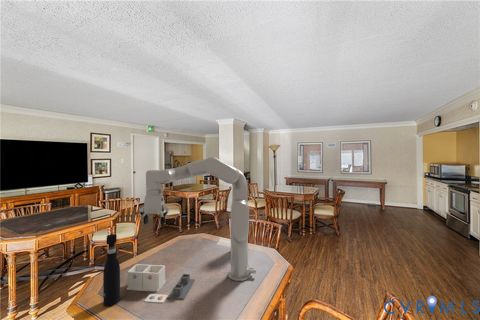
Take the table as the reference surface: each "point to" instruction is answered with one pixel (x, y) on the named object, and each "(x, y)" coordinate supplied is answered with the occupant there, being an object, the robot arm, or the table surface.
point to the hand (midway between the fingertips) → (154, 223)
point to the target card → (156, 298)
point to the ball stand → (181, 287)
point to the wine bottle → (111, 274)
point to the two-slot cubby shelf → (146, 277)
